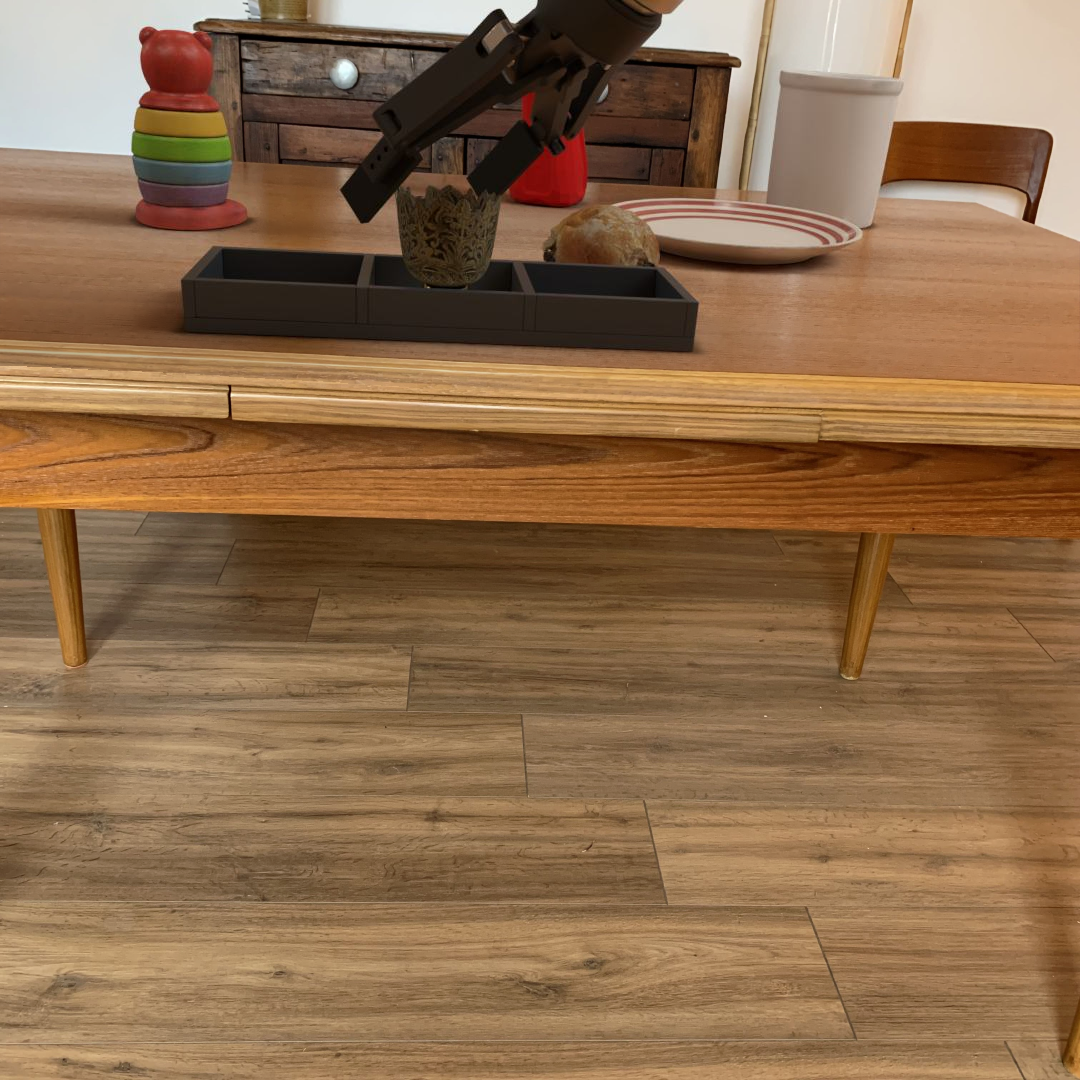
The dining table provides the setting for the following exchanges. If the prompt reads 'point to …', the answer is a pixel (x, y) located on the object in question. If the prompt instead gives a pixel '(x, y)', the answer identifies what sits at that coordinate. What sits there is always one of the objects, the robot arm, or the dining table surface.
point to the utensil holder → (832, 142)
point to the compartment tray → (436, 301)
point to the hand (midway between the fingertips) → (420, 199)
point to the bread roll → (602, 239)
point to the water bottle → (553, 172)
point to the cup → (447, 235)
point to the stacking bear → (181, 137)
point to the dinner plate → (741, 230)
